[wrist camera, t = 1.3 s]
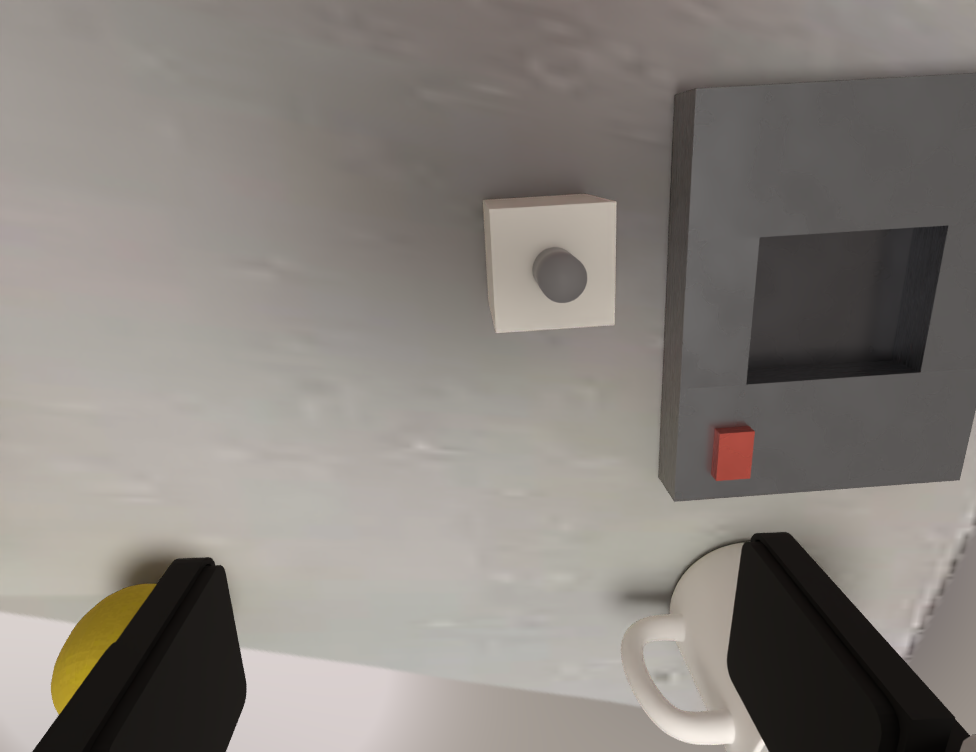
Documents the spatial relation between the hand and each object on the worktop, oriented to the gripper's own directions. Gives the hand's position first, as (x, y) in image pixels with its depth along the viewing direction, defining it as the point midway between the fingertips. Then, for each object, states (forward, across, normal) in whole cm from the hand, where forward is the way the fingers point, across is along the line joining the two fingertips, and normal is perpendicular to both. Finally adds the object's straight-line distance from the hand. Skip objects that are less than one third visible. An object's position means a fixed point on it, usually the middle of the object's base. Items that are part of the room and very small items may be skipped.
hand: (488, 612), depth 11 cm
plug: (+19, -3, -4) cm, 19 cm away
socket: (+19, -16, -1) cm, 25 cm away
